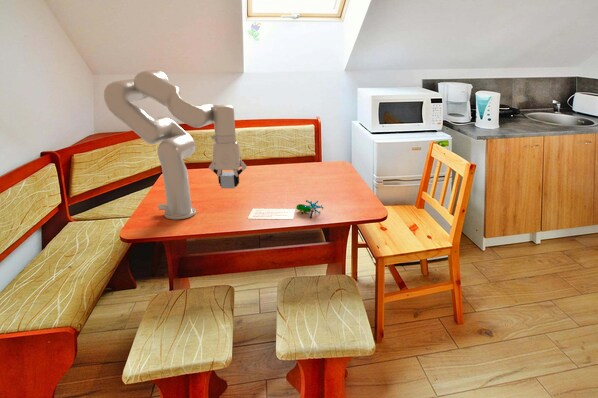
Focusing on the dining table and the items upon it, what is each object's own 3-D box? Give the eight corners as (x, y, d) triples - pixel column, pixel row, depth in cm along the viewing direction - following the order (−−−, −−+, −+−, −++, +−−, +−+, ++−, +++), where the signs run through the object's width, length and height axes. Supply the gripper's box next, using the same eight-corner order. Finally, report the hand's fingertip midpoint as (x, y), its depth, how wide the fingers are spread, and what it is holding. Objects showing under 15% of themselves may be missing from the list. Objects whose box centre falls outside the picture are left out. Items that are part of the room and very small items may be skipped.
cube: (221, 188, 161) (220, 175, 159) (224, 184, 166) (223, 172, 164) (234, 188, 161) (233, 175, 159) (237, 184, 165) (236, 172, 164)
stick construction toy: (327, 207, 171) (318, 196, 166) (324, 222, 167) (314, 211, 162) (302, 211, 177) (292, 200, 172) (298, 225, 173) (288, 214, 168)
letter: (247, 218, 168) (247, 218, 168) (252, 208, 178) (252, 208, 178) (292, 219, 166) (292, 219, 166) (295, 209, 176) (295, 209, 176)
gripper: (200, 141, 154) (204, 188, 160) (246, 141, 153) (249, 188, 159) (206, 137, 161) (210, 182, 167) (250, 137, 160) (252, 182, 166)
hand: (229, 185), depth 163 cm, fingers closed on cube, 5 cm apart
